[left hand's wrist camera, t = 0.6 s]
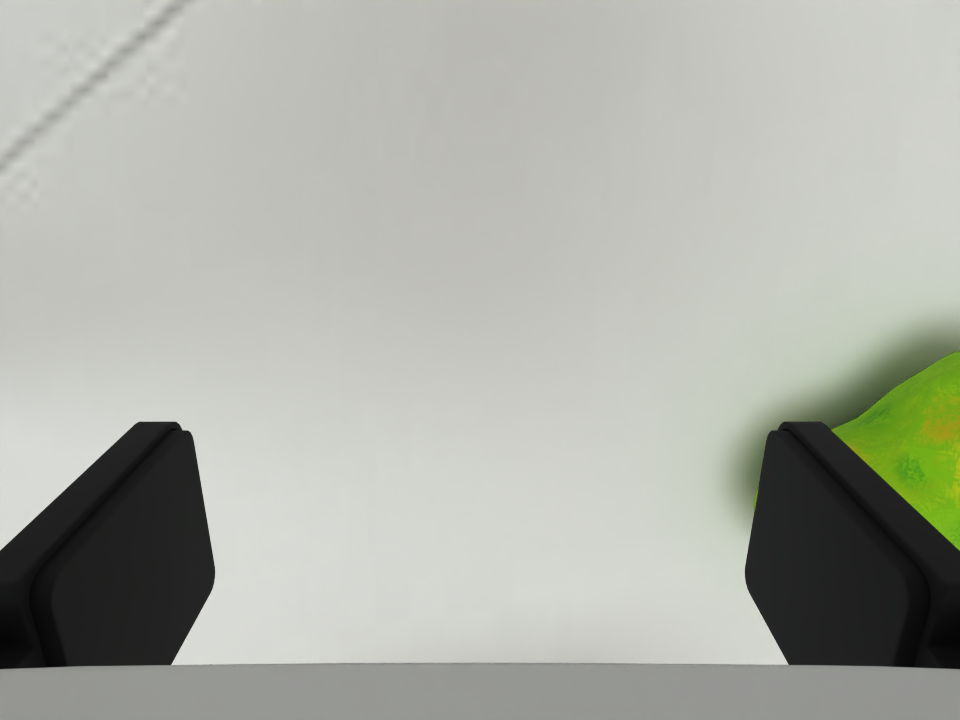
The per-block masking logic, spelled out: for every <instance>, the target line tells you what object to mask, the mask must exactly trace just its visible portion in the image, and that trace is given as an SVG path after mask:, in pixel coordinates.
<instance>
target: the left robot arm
mask: <svg viewBox="0 0 960 720" xmlns="http://www.w3.org/2000/svg"><path fill="white" fill-rule="evenodd" d="M214 579H215V566H214V560H213V554H212V548H211V542H210V536H209V530H208V524H207V518H206V512H205V506H204V500H203V494H202V488H201V482H200V476H199V470H198V464H197V458H196V452H195V446H194V441H193V437H192V434H191V433H190V432H189V431H182V428H181V427H180V425H179V424H178V423H177V422H138V423H136V424H135V425H134V426H133V427H132V428H131V429H130V430H129V431H127V432H126V433H125V434H124V435H123V436H122V437H121V438H120V439H119V440H118V441H117V442H116V443H115V444H114V445H113V446H111V447H110V448H109V449H108V450H107V451H106V452H105V453H104V454H103V455H102V456H101V457H100V458H99V459H98V460H97V461H96V462H94V463H93V464H92V465H91V466H90V467H89V468H88V469H87V470H86V471H85V472H84V473H83V474H82V475H81V476H80V477H78V478H77V479H76V480H75V481H74V482H73V483H72V484H71V485H70V486H69V487H68V488H67V489H66V490H65V491H64V492H62V493H61V494H60V495H59V496H58V497H57V498H56V499H55V500H54V501H53V502H52V503H51V504H50V505H49V506H48V507H46V508H45V509H44V510H43V511H42V512H41V513H40V514H39V515H38V516H37V517H36V518H35V519H34V520H33V521H32V522H30V523H29V524H28V525H27V526H26V527H25V528H24V529H23V530H22V531H21V532H20V533H19V534H18V535H17V536H16V537H14V538H13V539H12V540H11V541H10V542H9V543H8V544H7V545H6V546H5V547H4V548H3V549H2V550H1V551H0V720H960V551H959V550H958V549H957V548H956V547H955V546H954V545H953V544H952V543H951V542H950V541H949V540H948V539H947V538H946V537H944V536H943V535H942V534H941V533H940V532H939V531H938V530H937V529H936V528H935V527H934V526H933V525H932V524H931V523H930V522H928V521H927V520H926V519H925V518H924V517H923V516H922V515H921V514H920V513H919V512H918V511H917V510H916V509H915V508H914V507H912V506H911V505H910V504H909V503H908V502H907V501H906V500H905V499H904V498H903V497H902V496H901V495H900V494H899V493H898V492H896V491H895V490H894V489H893V488H892V487H891V486H890V485H889V484H888V483H887V482H886V481H885V480H884V479H883V478H882V477H880V476H879V475H878V474H877V473H876V472H875V471H874V470H873V469H872V468H871V467H870V466H869V465H868V464H867V463H866V462H864V461H863V460H862V459H861V458H860V457H859V456H858V455H857V454H856V453H855V452H854V451H853V450H852V449H851V448H850V447H848V446H847V445H846V444H845V443H844V442H843V441H842V440H841V439H840V438H839V437H838V436H837V435H836V434H835V433H834V432H833V431H831V430H830V429H829V428H828V427H827V426H826V425H825V424H824V423H822V422H783V423H782V424H781V425H780V427H779V428H778V431H771V432H770V433H769V434H768V437H767V440H766V446H765V452H764V458H763V464H762V470H761V476H760V482H759V488H758V494H757V500H756V506H755V512H754V518H753V524H752V530H751V536H750V542H749V548H748V554H747V560H746V566H745V579H746V584H747V588H748V591H749V593H750V595H751V597H752V598H753V600H754V602H755V604H756V606H757V607H758V609H759V611H760V613H761V615H762V617H763V618H764V620H765V622H766V624H767V626H768V628H769V629H770V631H771V633H772V635H773V637H774V638H775V640H776V642H777V644H778V646H779V648H780V649H781V651H782V653H783V655H784V657H785V659H786V660H787V662H788V664H789V665H728V664H617V663H320V664H232V665H171V664H172V662H173V660H174V659H175V657H176V655H177V653H178V651H179V649H180V648H181V646H182V644H183V642H184V640H185V638H186V637H187V635H188V633H189V631H190V629H191V628H192V626H193V624H194V622H195V620H196V618H197V617H198V615H199V613H200V611H201V609H202V607H203V606H204V604H205V602H206V600H207V598H208V597H209V595H210V593H211V591H212V588H213V584H214Z"/></svg>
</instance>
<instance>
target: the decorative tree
mask: <svg viewBox="0 0 960 720" xmlns="http://www.w3.org/2000/svg"><path fill="white" fill-rule="evenodd" d="M831 431H833V432H834V433H835V434H836V435H837V436H838V437H839V438H840V439H841V440H842V441H843V442H844V443H845V444H846V445H847V446H848V447H850V448H851V449H852V450H853V451H854V452H855V453H856V454H857V455H858V456H859V457H860V458H861V459H862V460H863V461H864V462H866V463H867V464H868V465H869V466H870V467H871V468H872V469H873V470H874V471H875V472H876V473H877V474H878V475H879V476H880V477H882V478H883V479H884V480H885V481H886V482H887V483H888V484H889V485H890V486H891V487H892V488H893V489H894V490H895V491H896V492H898V493H899V494H900V495H901V496H902V497H903V498H904V499H905V500H906V501H907V502H908V503H909V504H910V505H911V506H912V507H914V508H915V509H916V510H917V511H918V512H919V513H920V514H921V515H922V516H923V517H924V518H925V519H926V520H927V521H928V522H930V523H931V524H932V525H933V526H934V527H935V528H936V529H937V530H938V531H939V532H940V533H941V534H942V535H943V536H944V537H946V538H947V539H948V540H949V541H950V542H951V543H952V544H953V545H954V546H955V547H956V548H957V549H958V550H959V551H960V352H954V353H951V354H949V355H947V356H945V357H944V358H942V359H940V360H939V361H937V362H935V363H934V364H932V365H931V366H929V367H927V368H926V369H924V370H922V371H921V372H919V373H917V374H916V375H914V376H913V377H911V378H909V379H908V380H906V381H904V382H903V383H901V384H900V385H898V386H896V387H895V388H893V389H892V390H891V391H890V392H888V393H887V394H886V395H885V396H884V397H882V398H881V399H880V400H879V401H878V402H877V403H875V404H874V405H873V406H872V407H871V408H869V409H868V410H867V411H866V412H864V413H863V414H862V415H860V416H859V417H858V418H856V419H854V420H852V421H850V422H847V423H845V424H843V425H840V426H838V427H836V428H833V429H831ZM758 488H759V487H758ZM757 494H758V490H757V492H756V496H755V499H754V511H755V506H756V500H757Z"/></svg>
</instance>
